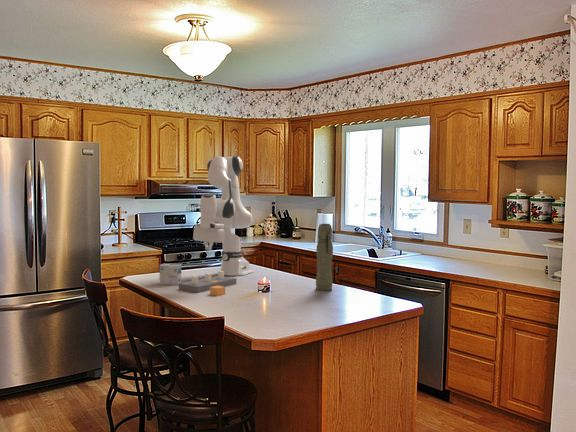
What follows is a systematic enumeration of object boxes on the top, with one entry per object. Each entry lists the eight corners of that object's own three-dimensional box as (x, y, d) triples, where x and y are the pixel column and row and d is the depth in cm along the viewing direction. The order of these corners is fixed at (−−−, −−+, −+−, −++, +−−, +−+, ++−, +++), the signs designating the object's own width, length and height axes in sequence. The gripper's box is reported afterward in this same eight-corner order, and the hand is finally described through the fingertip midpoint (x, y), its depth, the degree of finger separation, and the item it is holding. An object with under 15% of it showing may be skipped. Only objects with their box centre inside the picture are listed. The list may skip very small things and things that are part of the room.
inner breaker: (220, 278, 293) (220, 270, 293) (224, 278, 292) (224, 271, 291) (217, 278, 291) (217, 271, 291) (221, 279, 290) (221, 271, 289)
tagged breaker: (208, 280, 285) (208, 273, 285) (211, 281, 284) (211, 273, 283) (205, 281, 283) (205, 273, 283) (208, 281, 282) (208, 274, 281)
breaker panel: (217, 280, 300) (217, 275, 299) (236, 283, 292) (236, 278, 291) (178, 289, 275) (178, 283, 275) (197, 292, 267) (197, 286, 267)
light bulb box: (181, 282, 293) (181, 263, 292) (178, 285, 286) (178, 265, 286) (163, 282, 294) (163, 263, 294) (159, 284, 288) (159, 264, 287)
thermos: (323, 292, 273) (324, 225, 270) (311, 288, 283) (312, 223, 280) (337, 290, 277) (338, 224, 275) (324, 286, 287) (325, 222, 285)
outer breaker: (195, 283, 277) (195, 275, 276) (198, 284, 275) (198, 276, 275) (191, 284, 275) (191, 276, 275) (195, 284, 273) (195, 276, 273)
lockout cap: (217, 292, 268) (217, 285, 268) (225, 293, 265) (225, 286, 265) (210, 294, 264) (210, 287, 264) (218, 295, 261) (218, 288, 261)
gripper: (190, 223, 285) (190, 249, 285) (218, 225, 273) (218, 252, 274) (198, 223, 290) (198, 247, 291) (226, 224, 278) (226, 250, 279)
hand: (208, 249), depth 282 cm, fingers closed
